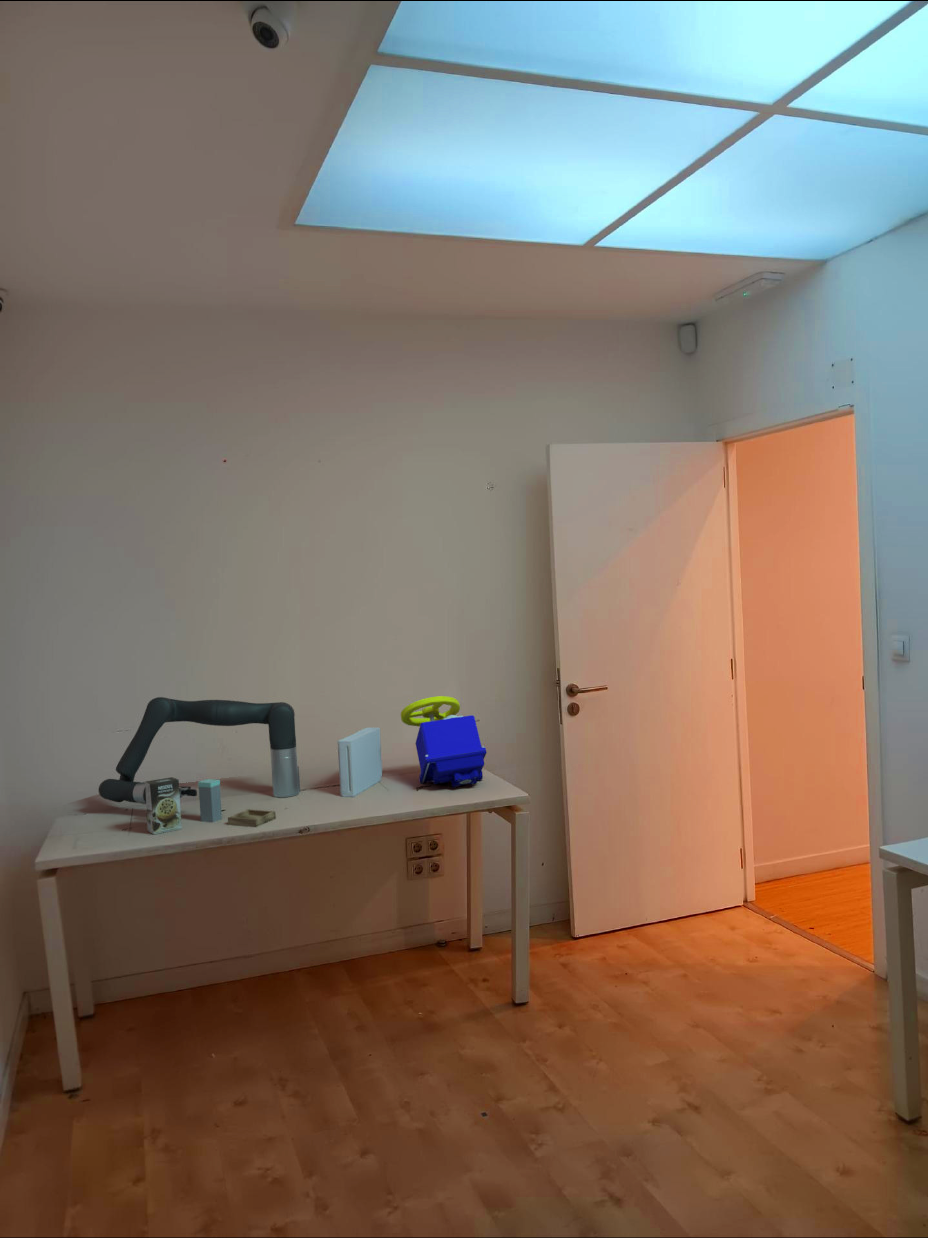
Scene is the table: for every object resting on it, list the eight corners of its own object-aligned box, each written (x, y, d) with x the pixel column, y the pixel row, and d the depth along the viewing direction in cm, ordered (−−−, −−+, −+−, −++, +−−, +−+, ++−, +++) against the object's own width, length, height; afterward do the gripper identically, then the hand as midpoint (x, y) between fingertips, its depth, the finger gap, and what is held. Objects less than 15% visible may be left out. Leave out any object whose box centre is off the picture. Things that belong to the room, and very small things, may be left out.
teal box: (209, 817, 312) (207, 779, 311) (222, 818, 310) (219, 779, 309) (200, 821, 308) (198, 782, 307) (212, 822, 306) (210, 783, 305)
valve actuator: (493, 767, 328) (474, 690, 341) (418, 779, 322) (402, 700, 335) (482, 791, 350) (464, 717, 363) (412, 803, 344) (397, 727, 358)
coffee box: (153, 835, 294) (150, 784, 293) (147, 831, 299) (143, 781, 298) (182, 829, 299) (179, 779, 298) (175, 825, 304) (172, 776, 304)
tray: (248, 816, 311) (248, 809, 311) (275, 818, 307) (275, 811, 307) (228, 824, 302) (227, 817, 302) (255, 827, 297) (255, 820, 297)
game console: (338, 796, 333) (335, 741, 332) (368, 779, 359) (365, 727, 358) (353, 797, 331) (350, 741, 330) (382, 779, 357) (379, 727, 356)
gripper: (134, 787, 313) (171, 789, 306) (164, 777, 326) (201, 780, 319) (135, 809, 313) (173, 812, 306) (165, 799, 326) (202, 801, 319)
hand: (187, 796), depth 313 cm, fingers open, 8 cm apart
